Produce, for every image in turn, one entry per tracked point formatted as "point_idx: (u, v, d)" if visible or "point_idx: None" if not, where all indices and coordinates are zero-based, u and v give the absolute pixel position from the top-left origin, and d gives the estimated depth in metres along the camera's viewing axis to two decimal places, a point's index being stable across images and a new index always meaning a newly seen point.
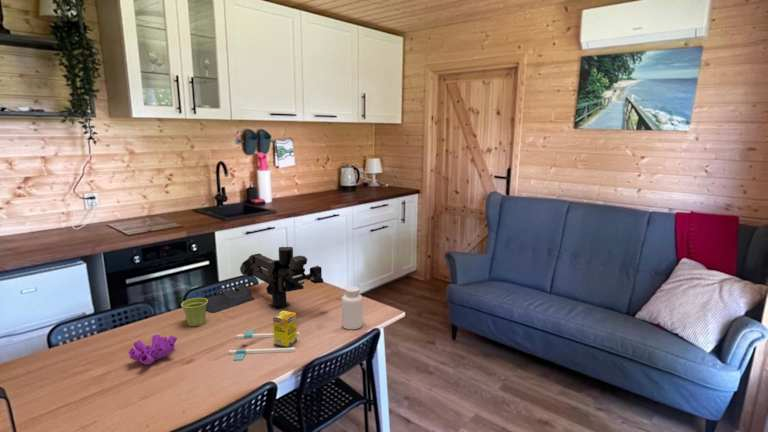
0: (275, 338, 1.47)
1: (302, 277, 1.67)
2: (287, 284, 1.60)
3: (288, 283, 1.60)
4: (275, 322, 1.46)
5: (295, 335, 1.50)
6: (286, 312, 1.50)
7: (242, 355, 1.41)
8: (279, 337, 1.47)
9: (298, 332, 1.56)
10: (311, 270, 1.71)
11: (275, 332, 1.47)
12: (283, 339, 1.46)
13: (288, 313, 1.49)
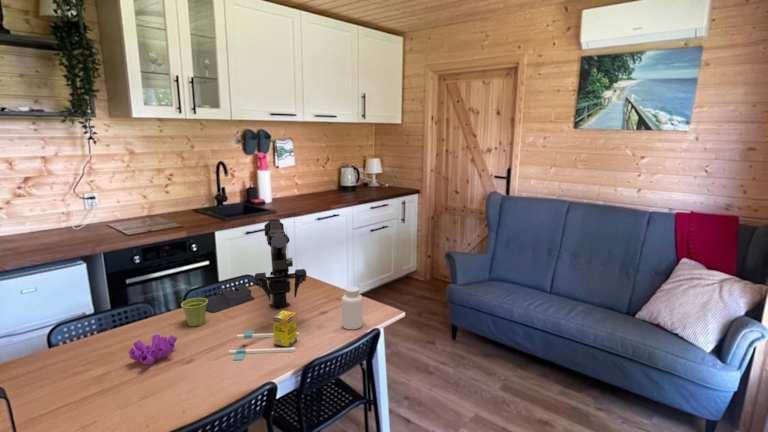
0: (275, 338, 1.47)
1: (282, 277, 1.59)
2: (261, 284, 1.56)
3: (262, 283, 1.56)
4: (275, 322, 1.46)
5: (295, 335, 1.50)
6: (286, 312, 1.50)
7: (242, 355, 1.41)
8: (279, 337, 1.47)
9: (298, 332, 1.56)
10: None
11: (275, 332, 1.47)
12: (283, 339, 1.46)
13: (288, 313, 1.49)
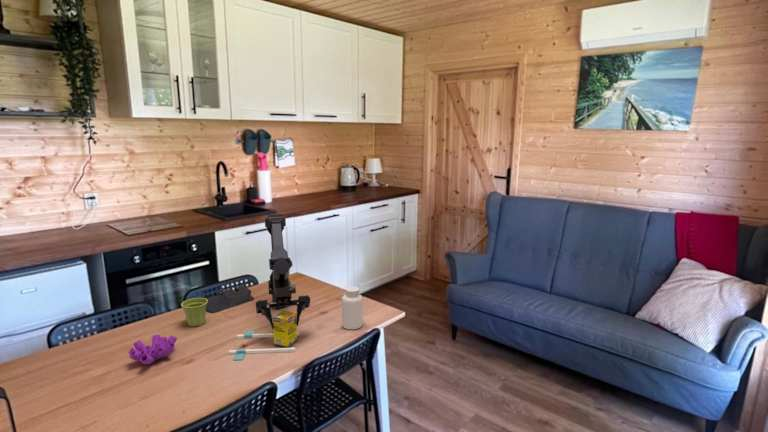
0: (275, 338, 1.47)
1: (285, 304, 1.51)
2: (263, 312, 1.48)
3: (265, 311, 1.48)
4: (275, 322, 1.46)
5: (295, 334, 1.50)
6: (286, 312, 1.50)
7: (242, 355, 1.41)
8: (279, 337, 1.47)
9: (298, 332, 1.56)
10: (299, 299, 1.52)
11: (275, 332, 1.47)
12: (283, 339, 1.46)
13: (288, 313, 1.48)
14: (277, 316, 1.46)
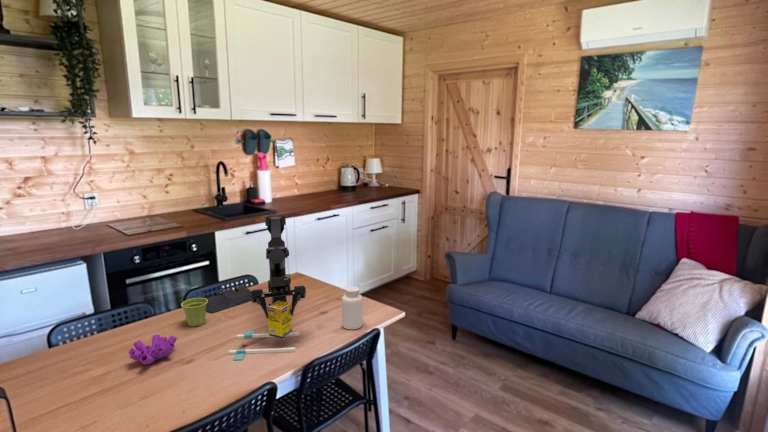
0: (270, 328, 1.46)
1: (280, 294, 1.50)
2: (258, 301, 1.48)
3: (260, 301, 1.48)
4: (270, 312, 1.45)
5: (290, 325, 1.49)
6: (281, 302, 1.49)
7: (242, 355, 1.41)
8: (273, 327, 1.46)
9: (298, 332, 1.56)
10: None
11: (269, 321, 1.46)
12: (277, 329, 1.45)
13: (283, 303, 1.47)
14: (272, 306, 1.45)
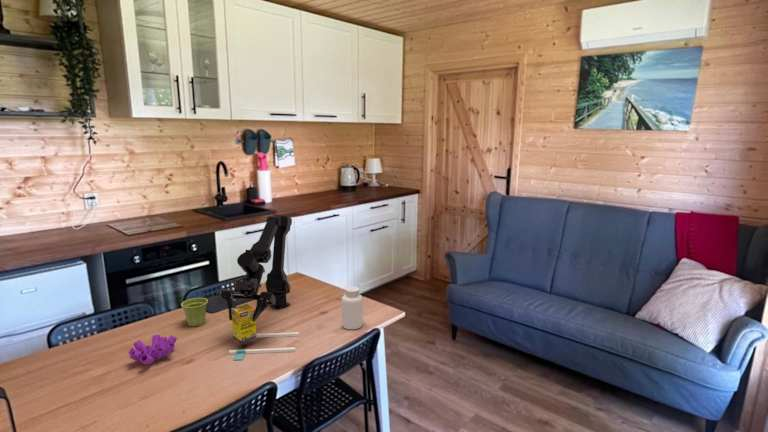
0: (233, 330, 1.47)
1: (249, 298, 1.49)
2: None
3: None
4: (232, 314, 1.45)
5: (253, 330, 1.47)
6: (248, 306, 1.48)
7: (242, 355, 1.41)
8: (235, 329, 1.46)
9: (298, 332, 1.56)
10: None
11: (233, 324, 1.46)
12: (237, 332, 1.45)
13: (247, 307, 1.46)
14: (235, 308, 1.46)
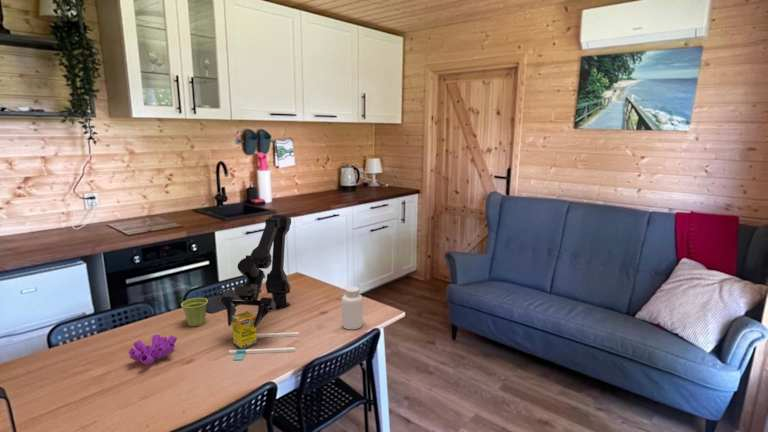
0: (234, 337, 1.47)
1: (249, 303, 1.50)
2: None
3: None
4: (233, 322, 1.46)
5: (254, 338, 1.48)
6: (248, 313, 1.49)
7: (242, 355, 1.41)
8: (236, 337, 1.46)
9: (298, 332, 1.56)
10: None
11: (233, 331, 1.47)
12: (238, 339, 1.45)
13: (248, 315, 1.47)
14: (235, 316, 1.46)
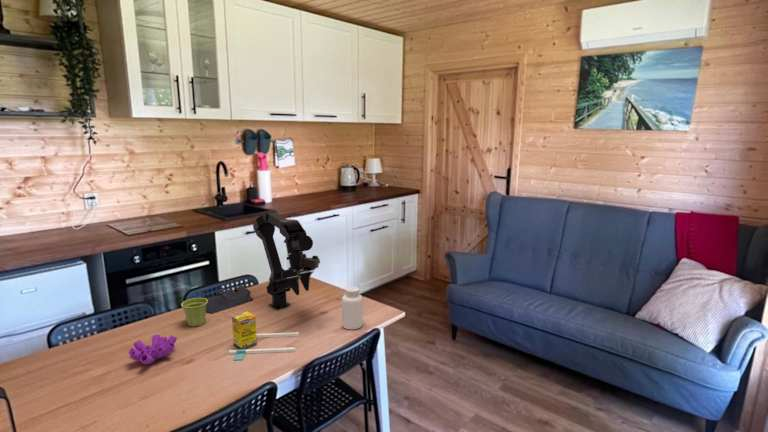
0: (234, 337, 1.47)
1: (300, 271, 1.64)
2: (291, 278, 1.56)
3: (293, 278, 1.57)
4: (233, 322, 1.46)
5: (254, 338, 1.48)
6: (248, 313, 1.49)
7: (242, 355, 1.41)
8: (236, 337, 1.46)
9: (298, 332, 1.56)
10: None
11: (233, 331, 1.47)
12: (238, 339, 1.45)
13: (248, 315, 1.47)
14: (235, 316, 1.46)
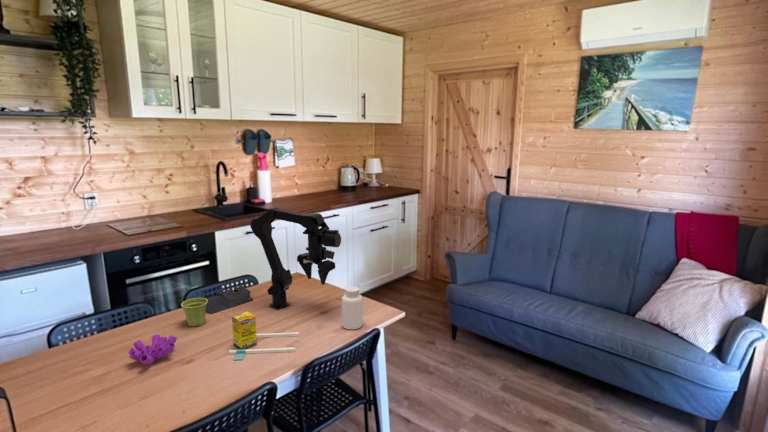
0: (234, 337, 1.47)
1: (315, 262, 1.73)
2: None
3: None
4: (233, 322, 1.46)
5: (254, 338, 1.48)
6: (248, 313, 1.49)
7: (242, 355, 1.41)
8: (236, 337, 1.46)
9: (298, 332, 1.56)
10: None
11: (233, 331, 1.47)
12: (238, 339, 1.45)
13: (248, 315, 1.47)
14: (235, 316, 1.46)
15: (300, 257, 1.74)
